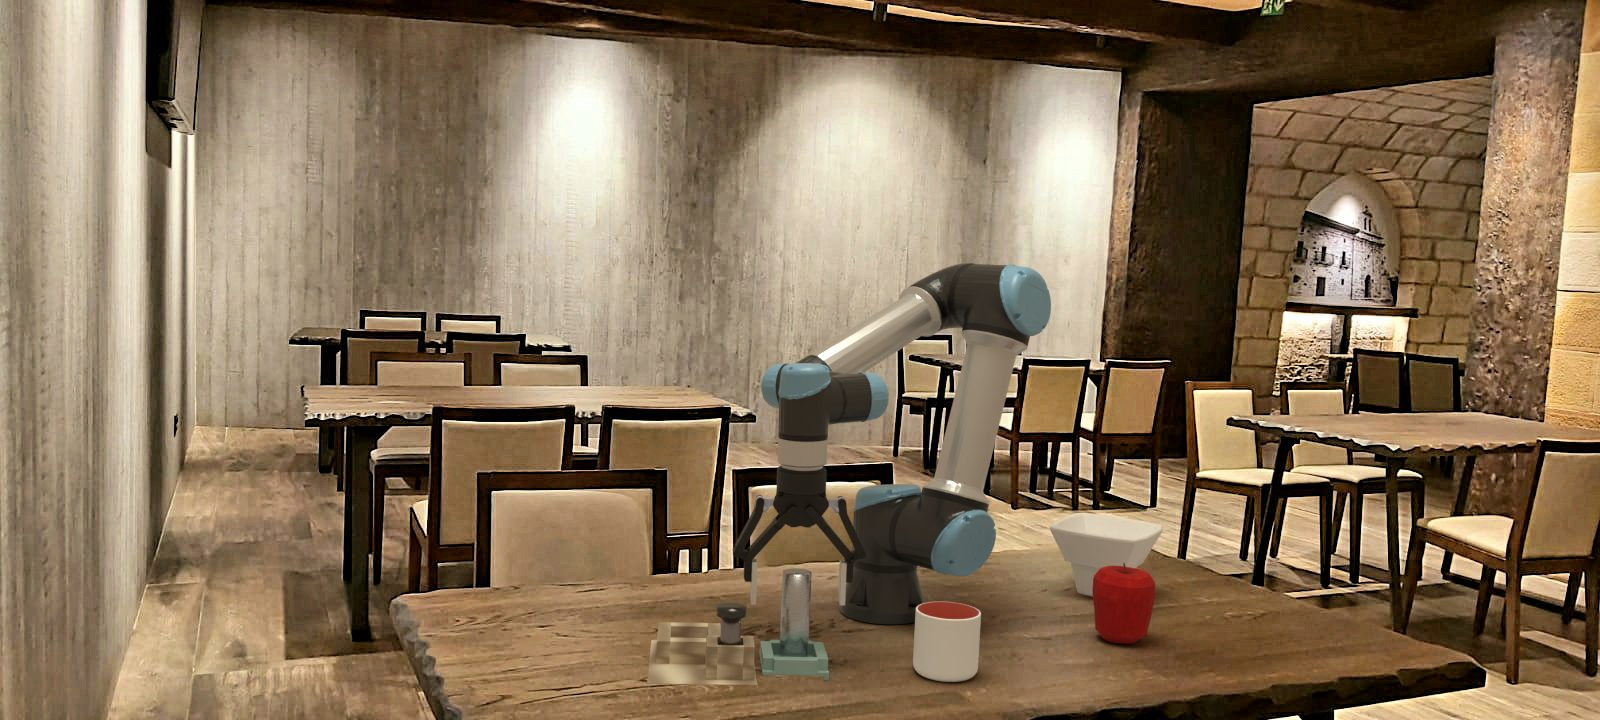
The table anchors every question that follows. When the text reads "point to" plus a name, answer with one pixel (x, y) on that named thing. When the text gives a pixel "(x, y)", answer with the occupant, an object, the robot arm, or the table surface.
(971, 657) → the cup
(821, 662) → the tray
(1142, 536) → the bowl
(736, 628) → the black mushroom head peg
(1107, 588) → the apple
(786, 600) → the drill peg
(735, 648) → the socket block
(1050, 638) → the table surface
